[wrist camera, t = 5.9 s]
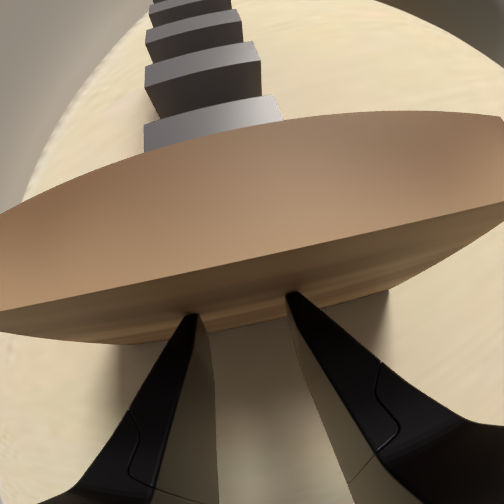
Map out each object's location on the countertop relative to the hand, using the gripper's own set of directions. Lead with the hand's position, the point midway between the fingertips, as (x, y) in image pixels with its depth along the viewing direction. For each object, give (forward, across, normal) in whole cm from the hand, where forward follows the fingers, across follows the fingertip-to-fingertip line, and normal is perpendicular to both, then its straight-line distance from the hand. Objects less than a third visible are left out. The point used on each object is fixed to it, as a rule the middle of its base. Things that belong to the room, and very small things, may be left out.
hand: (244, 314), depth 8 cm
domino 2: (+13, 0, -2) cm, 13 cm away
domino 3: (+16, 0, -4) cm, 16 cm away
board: (+6, 0, +5) cm, 8 cm away
